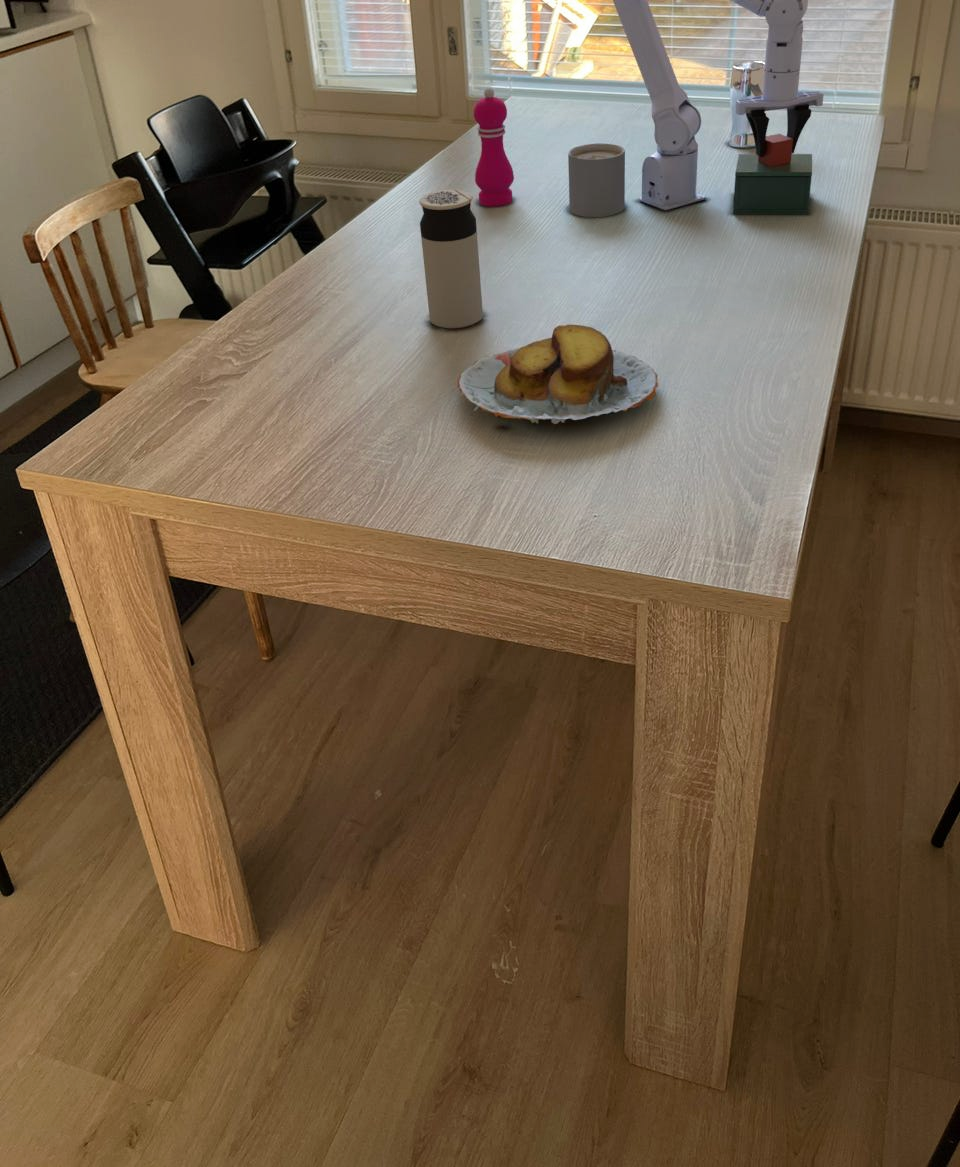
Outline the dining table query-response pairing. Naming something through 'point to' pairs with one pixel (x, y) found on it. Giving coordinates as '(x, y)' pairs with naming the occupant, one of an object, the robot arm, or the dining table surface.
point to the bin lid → (752, 167)
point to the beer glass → (744, 86)
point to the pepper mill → (492, 152)
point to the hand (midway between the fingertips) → (775, 153)
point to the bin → (772, 194)
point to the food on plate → (559, 378)
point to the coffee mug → (596, 180)
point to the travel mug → (451, 259)
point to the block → (777, 150)
